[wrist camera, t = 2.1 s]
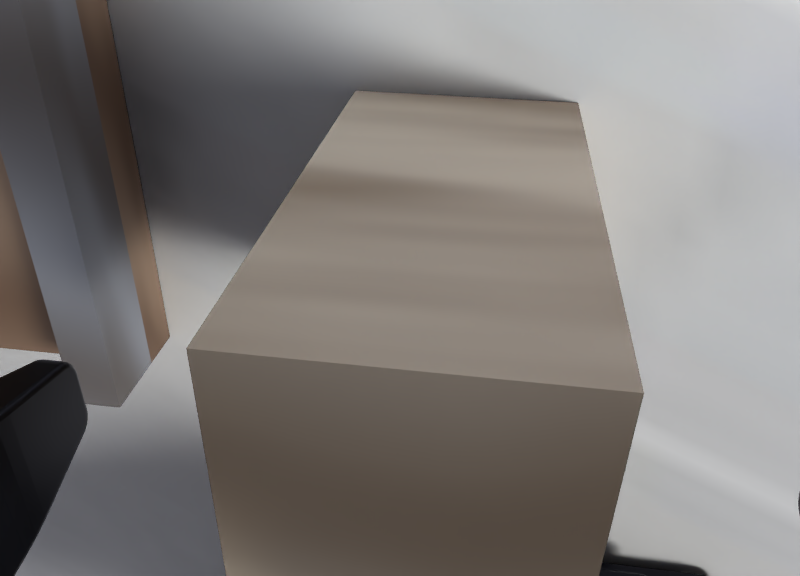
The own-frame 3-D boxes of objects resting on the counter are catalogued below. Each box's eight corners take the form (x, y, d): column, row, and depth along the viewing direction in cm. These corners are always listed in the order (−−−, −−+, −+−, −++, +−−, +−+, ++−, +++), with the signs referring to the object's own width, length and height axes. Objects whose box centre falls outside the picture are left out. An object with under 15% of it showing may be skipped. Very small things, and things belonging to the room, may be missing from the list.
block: (550, 294, 15) (576, 667, 8) (359, 278, 15) (233, 620, 9) (577, 103, 13) (643, 394, 6) (355, 90, 13) (186, 349, 7)
